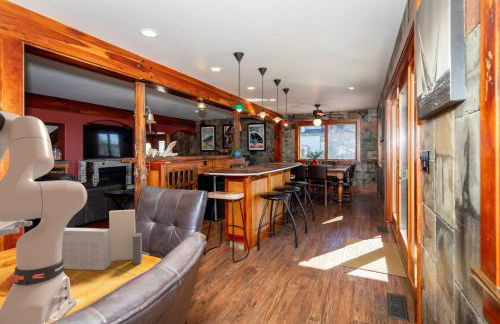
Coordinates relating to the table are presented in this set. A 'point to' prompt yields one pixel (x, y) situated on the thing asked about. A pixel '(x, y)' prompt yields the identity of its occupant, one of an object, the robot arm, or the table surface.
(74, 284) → the table surface
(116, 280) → the table surface
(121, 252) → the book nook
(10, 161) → the robot arm
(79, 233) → the skincare box
